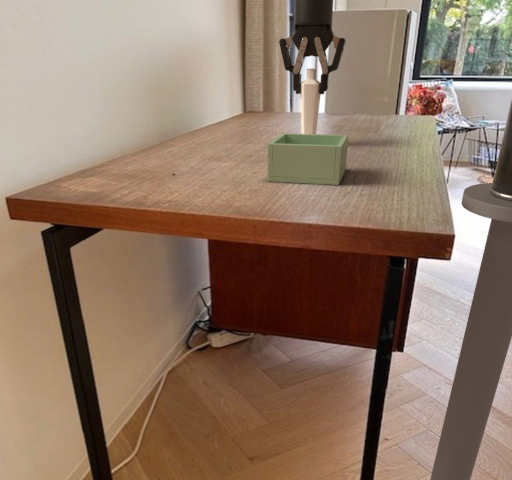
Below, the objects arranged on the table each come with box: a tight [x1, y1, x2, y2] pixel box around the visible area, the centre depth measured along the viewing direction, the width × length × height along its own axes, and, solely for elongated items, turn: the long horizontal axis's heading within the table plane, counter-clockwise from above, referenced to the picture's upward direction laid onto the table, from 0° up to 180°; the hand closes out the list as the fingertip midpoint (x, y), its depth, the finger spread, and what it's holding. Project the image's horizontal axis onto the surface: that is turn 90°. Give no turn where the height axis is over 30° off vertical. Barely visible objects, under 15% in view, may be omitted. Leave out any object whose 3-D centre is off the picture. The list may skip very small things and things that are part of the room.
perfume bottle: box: [299, 68, 321, 134], centre depth 109 cm, size 5×4×15 cm
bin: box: [266, 132, 349, 186], centre depth 84 cm, size 12×12×6 cm
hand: (310, 93), depth 107 cm, fingers closed on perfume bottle, 4 cm apart
